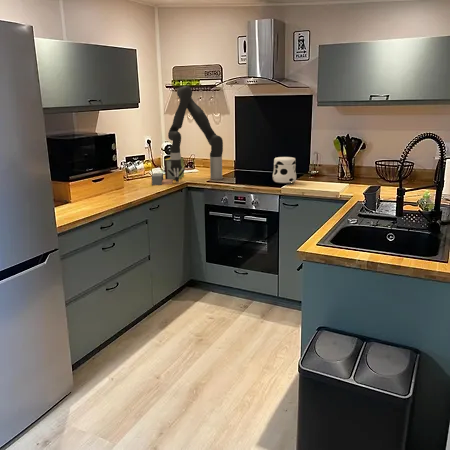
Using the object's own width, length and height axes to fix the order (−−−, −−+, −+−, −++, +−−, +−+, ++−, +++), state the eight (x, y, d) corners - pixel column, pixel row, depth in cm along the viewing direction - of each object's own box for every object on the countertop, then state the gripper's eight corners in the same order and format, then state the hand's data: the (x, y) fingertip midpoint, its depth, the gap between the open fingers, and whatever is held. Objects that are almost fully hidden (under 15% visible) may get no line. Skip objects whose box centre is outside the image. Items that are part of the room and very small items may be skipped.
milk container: (301, 182, 331) (301, 158, 326) (285, 186, 320) (286, 161, 315) (282, 179, 344) (283, 155, 338) (267, 183, 332) (267, 158, 327)
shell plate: (172, 182, 342) (172, 179, 341) (171, 184, 334) (171, 181, 333) (155, 182, 342) (155, 179, 341) (153, 185, 334) (153, 181, 333)
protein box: (184, 176, 363) (183, 156, 358) (177, 180, 348) (176, 159, 344) (171, 175, 365) (171, 156, 361) (164, 179, 351) (163, 159, 346)
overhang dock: (163, 181, 343) (163, 173, 342) (161, 184, 332) (161, 176, 330) (154, 181, 343) (153, 173, 342) (152, 185, 332) (151, 176, 330)
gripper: (185, 157, 336) (186, 180, 341) (167, 158, 336) (168, 180, 341) (184, 159, 329) (185, 182, 334) (166, 159, 329) (167, 183, 334)
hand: (177, 181), depth 338 cm, fingers closed
